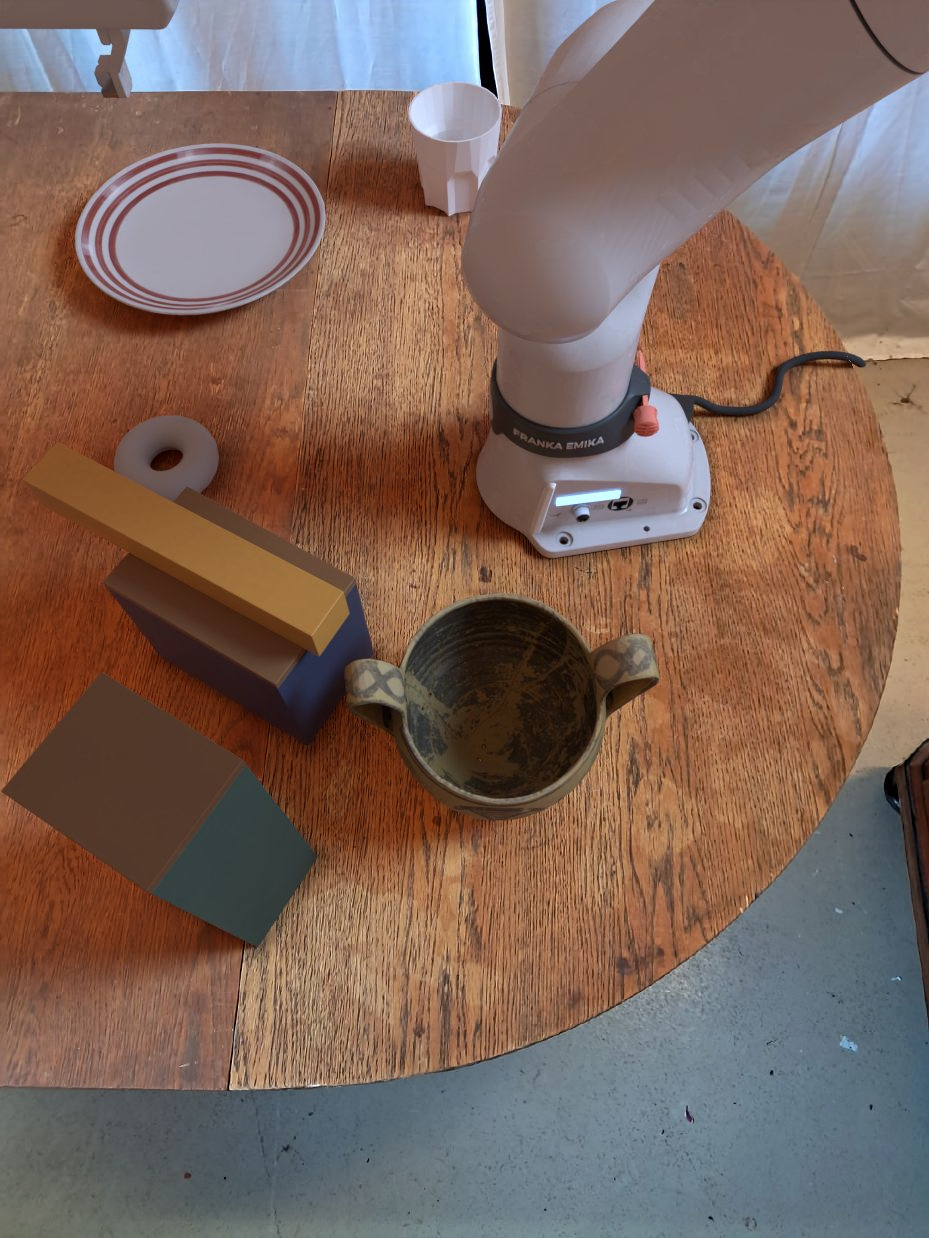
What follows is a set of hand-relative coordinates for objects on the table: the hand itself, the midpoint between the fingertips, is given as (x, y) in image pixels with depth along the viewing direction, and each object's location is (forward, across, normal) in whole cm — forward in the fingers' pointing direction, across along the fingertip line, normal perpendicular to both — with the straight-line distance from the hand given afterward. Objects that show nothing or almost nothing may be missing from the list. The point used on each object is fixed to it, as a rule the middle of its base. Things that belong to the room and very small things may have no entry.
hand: (43, 92), depth 55 cm
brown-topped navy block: (+37, +9, -22) cm, 44 cm away
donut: (+37, -3, -2) cm, 37 cm away
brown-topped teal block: (+37, +9, -40) cm, 55 cm away
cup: (+37, +24, +38) cm, 58 cm away
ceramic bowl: (+37, +29, -29) cm, 55 cm away
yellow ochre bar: (+23, +6, -20) cm, 31 cm away
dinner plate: (+37, -4, +29) cm, 47 cm away
